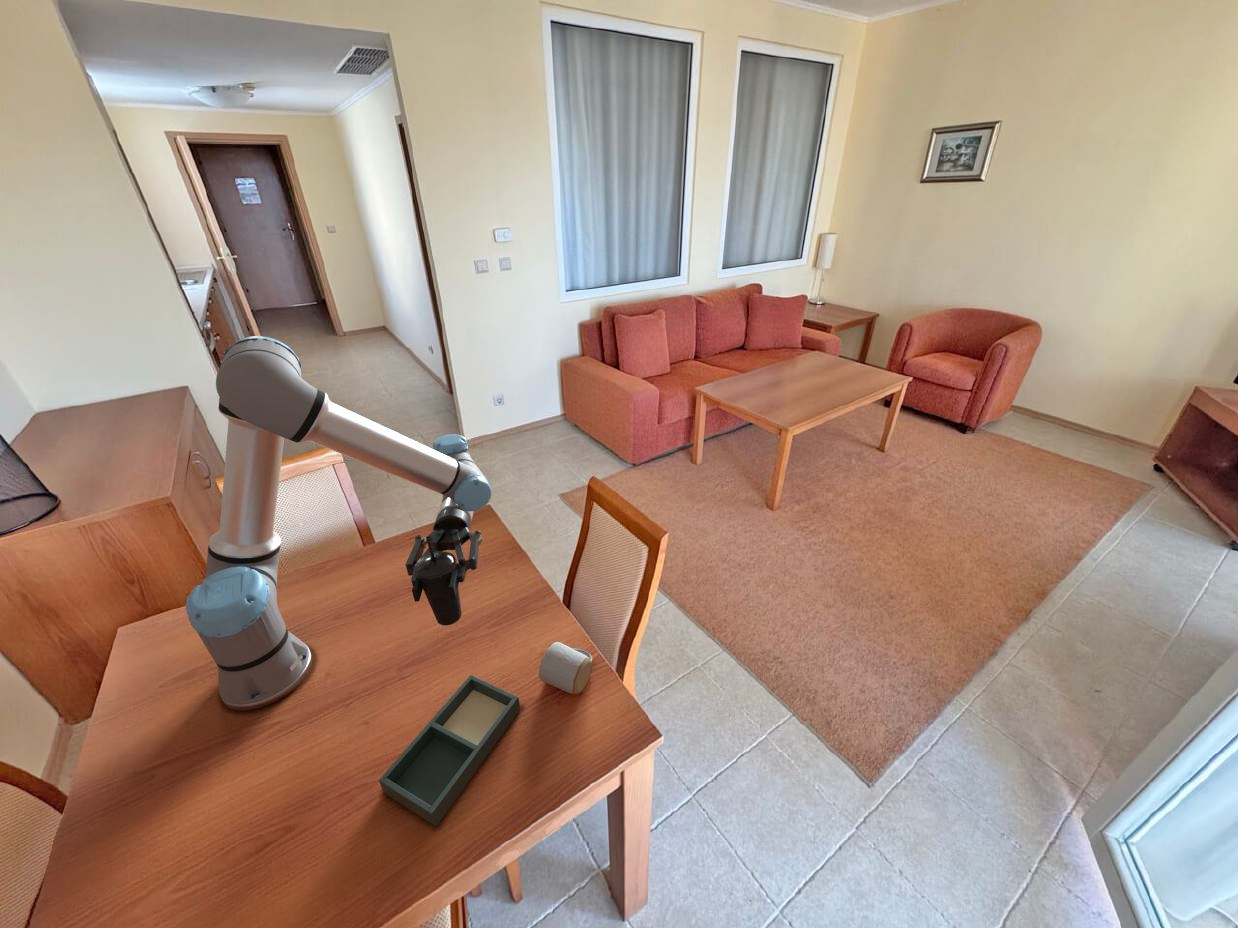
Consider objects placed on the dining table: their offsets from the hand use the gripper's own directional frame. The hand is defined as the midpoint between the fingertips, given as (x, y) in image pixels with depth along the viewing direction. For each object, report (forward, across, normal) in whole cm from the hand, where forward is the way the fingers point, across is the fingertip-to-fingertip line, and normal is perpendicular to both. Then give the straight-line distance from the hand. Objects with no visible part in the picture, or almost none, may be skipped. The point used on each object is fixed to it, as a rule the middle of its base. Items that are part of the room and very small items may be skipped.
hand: (434, 593), depth 90 cm
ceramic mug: (+5, -23, -20) cm, 31 cm away
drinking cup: (-5, 0, -11) cm, 12 cm away
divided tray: (+17, -3, -20) cm, 26 cm away
